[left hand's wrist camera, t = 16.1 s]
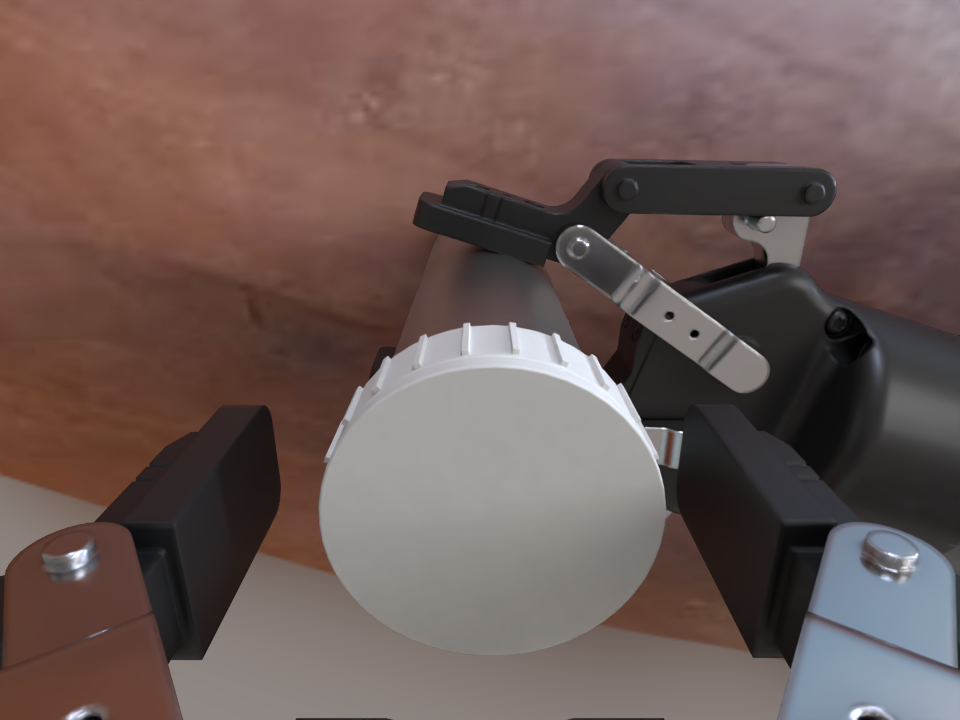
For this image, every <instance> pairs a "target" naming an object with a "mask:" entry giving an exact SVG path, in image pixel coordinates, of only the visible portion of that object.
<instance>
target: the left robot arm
mask: <svg viewBox="0 0 960 720" xmlns="http://www.w3.org/2000/svg"><path fill="white" fill-rule="evenodd" d="M280 492H281V484H280V475H279V467H278V460H277V453H276V446H275V438H274V431H273V424H272V417H271V414H270V411H269V409H268V408H267V407H266V406H265V405H225V406H221V407H220V408H219V409H218V410H217V411H216V413H215V414H214V415H213V416H212V417H211V418H210V419H209V420H208V422H207V423H206V424H205V425H204V426H203V427H202V428H201V429H200V431H199V432H190V433H189V434H187V435H185V436H183V437H182V438H180V439H178V440H176V441H175V442H173V443H171V444H169V445H168V446H166V447H165V448H164V449H163V450H162V451H161V452H160V453H159V454H158V455H157V456H156V457H155V458H154V460H153V461H152V462H151V463H150V466H149V467H146V468H145V469H144V470H143V471H142V472H141V473H140V474H139V475H138V476H137V477H136V482H132V483H131V484H130V485H129V486H128V487H127V488H126V489H125V490H124V491H123V492H122V493H121V494H120V495H119V496H118V498H117V499H116V500H115V501H114V502H113V503H112V504H111V505H110V506H109V507H108V508H107V509H106V510H105V511H104V512H103V513H102V514H101V515H100V517H99V518H98V519H97V520H96V521H95V522H93V523H86V524H80V525H76V526H72V527H68V528H65V529H62V530H59V531H56V532H54V533H52V534H49V535H47V536H45V537H43V538H41V539H39V540H37V541H36V542H34V543H32V544H31V545H29V546H28V547H26V548H25V549H24V550H22V551H21V552H20V553H19V554H18V555H17V556H16V557H15V558H14V559H13V560H12V561H11V562H10V564H9V565H8V567H7V569H6V572H5V575H4V576H0V720H183V718H182V714H181V710H180V706H179V703H178V699H177V696H176V692H175V688H174V685H173V681H172V677H171V674H170V670H169V666H168V664H169V662H170V660H202V659H203V657H204V655H205V653H206V651H207V649H208V647H209V645H210V643H211V642H212V640H213V638H214V636H215V634H216V632H217V630H218V628H219V626H220V624H221V622H222V620H223V618H224V616H225V614H226V612H227V610H228V608H229V606H230V604H231V602H232V600H233V598H234V596H235V594H236V592H237V591H238V589H239V587H240V585H241V583H242V581H243V579H244V577H245V575H246V573H247V571H248V569H249V567H250V565H251V563H252V561H253V559H254V557H255V555H256V553H257V551H258V549H259V547H260V545H261V543H262V542H263V540H264V538H265V536H266V534H267V532H268V530H269V528H270V526H271V524H272V522H273V520H274V518H275V516H276V514H277V511H278V507H279V502H280ZM676 494H677V502H678V507H679V510H680V513H681V515H682V517H683V519H684V521H685V523H686V525H687V527H688V529H689V531H690V533H691V535H692V537H693V539H694V541H695V543H696V545H697V547H698V549H699V551H700V553H701V555H702V557H703V559H704V561H705V563H706V565H707V567H708V569H709V571H710V573H711V575H712V577H713V579H714V581H715V583H716V585H717V587H718V589H719V591H720V593H721V595H722V597H723V599H724V601H725V603H726V605H727V607H728V609H729V611H730V613H731V615H732V617H733V619H734V621H735V623H736V625H737V627H738V629H739V631H740V633H741V635H742V637H743V639H744V641H745V643H746V645H747V647H748V649H749V651H750V653H751V655H752V657H753V658H785V660H786V662H787V664H788V665H789V667H790V669H791V670H790V674H789V678H788V681H787V685H786V688H785V692H784V696H783V699H782V703H781V707H780V710H779V714H778V718H777V720H960V576H959V575H955V572H954V569H953V567H952V565H951V564H950V562H949V561H948V560H947V559H946V558H945V557H944V556H943V555H942V554H941V553H940V552H939V551H938V550H936V549H935V548H934V547H932V546H931V545H929V544H928V543H926V542H924V541H923V540H921V539H919V538H917V537H915V536H913V535H911V534H908V533H906V532H904V531H901V530H898V529H895V528H892V527H888V526H884V525H880V524H875V523H867V522H861V520H860V519H859V518H858V517H857V516H856V515H855V514H854V513H853V512H852V511H851V510H850V509H849V508H848V507H847V506H846V504H845V503H844V502H843V501H842V500H841V499H840V498H839V497H838V496H837V495H836V494H835V493H834V492H833V491H832V490H831V488H830V487H829V486H828V485H827V484H826V483H825V482H824V481H823V480H820V479H819V476H818V475H817V474H816V472H815V471H814V470H813V469H812V468H811V467H810V466H806V462H805V461H804V460H803V459H802V458H801V457H800V455H799V454H798V453H797V452H796V451H795V450H794V449H793V448H792V447H791V446H790V445H788V444H787V443H785V442H783V441H781V440H780V439H778V438H776V437H774V436H773V435H771V434H769V433H767V432H766V431H757V430H756V428H755V427H754V426H753V425H752V424H751V423H750V422H749V420H748V419H747V418H746V417H745V416H744V415H743V414H742V413H741V411H740V410H739V409H738V408H737V407H736V406H735V405H690V406H689V408H688V409H687V412H686V415H685V421H684V428H683V435H682V443H681V450H680V458H679V465H678V472H677V480H676ZM296 720H391V719H387V718H296ZM569 720H664V718H573V719H569Z"/></svg>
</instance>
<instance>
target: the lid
mask: <svg viewBox="0 0 960 720" xmlns="http://www.w3.org/2000/svg"><path fill="white" fill-rule="evenodd" d="M658 459H659V457H658V454H657V452H656V450H655V448H654V446H653V444H652V442H651V440H650V438H649V436H648V434H647V432H646V431H645V429H644V427H643V425H642V423H641V419H640V417H639V415H638V413H637V411H636V409H635V407H634V405H633V404H632V402H631V400H630V398H629V396H628V394H627V392H626V390H625V388H624V387H623V385H622V384H621V383H620V384H618V385H616V384H615V383H614V382H613V380H612V379H611V378H610V377H609V376H608V374H607V373H606V372H605V371H604V370H603V369H602V368H601V366H600V364H599V362H598V360H597V358H596V357H595V356H594V355H593V354H591V355H590V356H589V357H588V356H587V355H585V354H584V353H582V352H581V351H579V350H578V349H576V348H575V347H573V346H571V345H569V344H567V343H565V342H563V341H561V339H560V336H559V335H558V334H555V333H553V334H552V336H549V335H546V334H543V333H540V332H537V331H533V330H528V329H523V328H518V327H516V323H512V322H509V326H498V325H486V326H470V323H464V324H463V328H459V329H453V330H449V331H446V332H443V333H440V334H436V335H433V336H430V337H427V335H426V334H425V335H422V336H420V338H419V342H417V343H415V344H413V345H411V346H410V347H408V348H406V349H405V350H403V351H402V352H400V353H398V354H397V355H395V356H394V357H393V358H392V359H390V358H389V357H388V356H387V357H386V358H384V359H383V361H382V364H381V367H380V369H379V370H378V371H377V372H376V373H375V374H374V375H373V377H372V378H371V379H370V380H369V381H368V382H367V384H366V385H365V387H364V388H362V387H360V386H359V387H358V388H357V389H356V391H355V394H354V396H353V398H352V400H351V402H350V405H349V407H348V409H347V411H346V414H345V416H344V418H343V420H342V421H341V423H340V425H339V428H338V430H337V432H336V434H335V436H334V439H333V441H332V443H331V445H330V447H329V450H328V452H327V454H326V456H325V460H324V463H328V464H327V466H326V470H325V473H324V476H323V480H322V483H321V489H320V496H319V503H318V507H319V526H320V532H321V538H322V542H323V545H324V548H325V551H326V554H327V557H328V560H329V562H330V564H331V566H332V568H333V570H334V572H335V574H336V576H337V578H338V579H339V580H340V582H341V583H342V585H343V586H344V588H345V589H346V590H347V592H348V593H349V594H350V595H351V596H352V597H353V599H354V600H355V601H356V602H357V603H358V604H359V605H360V606H361V607H362V608H363V609H364V610H366V611H367V612H368V613H369V614H370V615H371V616H373V617H374V618H375V619H376V620H378V621H379V622H381V623H382V624H384V625H385V626H387V627H388V628H390V629H391V630H393V631H395V632H397V633H399V634H401V635H403V636H405V637H407V638H409V639H411V640H414V641H416V642H419V643H421V644H424V645H427V646H430V647H433V648H437V649H441V650H445V651H448V652H454V653H461V654H467V655H481V656H500V655H514V654H521V653H528V652H533V651H537V650H541V649H545V648H549V647H552V646H555V645H558V644H561V643H563V642H566V641H569V640H571V639H573V638H575V637H577V636H579V635H581V634H584V633H586V632H587V631H589V630H591V629H592V628H594V627H595V626H597V625H599V624H600V623H602V622H604V621H605V620H606V619H607V618H609V617H610V616H611V615H612V614H614V613H615V612H616V611H617V610H619V609H620V608H621V607H622V606H623V605H624V604H625V603H626V602H627V600H628V599H629V598H630V597H631V596H632V595H633V594H634V593H635V591H636V590H637V589H638V587H639V586H640V585H641V584H642V582H643V581H644V579H645V578H646V576H647V574H648V572H649V571H650V569H651V567H652V565H653V563H654V561H655V558H656V556H657V553H658V550H659V548H660V545H661V541H662V536H663V532H664V527H665V515H666V502H665V490H664V485H663V481H662V477H661V473H660V469H659V467H658V464H657V462H656V460H658Z"/></svg>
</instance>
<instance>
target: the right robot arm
mask: <svg viewBox="0 0 960 720" xmlns="http://www.w3.org/2000/svg"><path fill="white" fill-rule="evenodd" d="M836 188H837V187H836V182H835V179H834V177H833V176H832V175H831V174H830V173H829V172H827V171H826V170H823V169H817V168H811V167H805V166H799V165H792V164H786V163H780V162H750V161H700V160H649V159H606V160H603V161H601V162H599V163H598V164H596V165H595V166H594V168H593V169H592V171H591V173H590V176H589V179H588V180H587V181H586V183H585V184H584V185H583V186H582V188H581V189H580V190H579V191H578V193H577V194H576V195H575V196H574V197H573V198H572V199H571V200H570V201H569V202H567V203H565V204H563V205H559V206H547V205H543V204H540V203H537V202H534V201H531V200H528V199H525V198H522V197H519V196H516V195H512V194H509V193H506V192H503V191H500V190H497V189H494V188H491V187H488V186H485V185H482V184H479V183H476V182H473V181H470V180H457V181H448V183H447V185H446V188H445V192H444V195H443V196H441V195H438V194H434V193H430V192H423V193H422V195H421V196H420V197H419V200H418V204H417V208H416V211H415V215H414V219H413V222H412V223H413V224H414V225H416V226H418V227H420V228H422V229H425V230H427V231H431V232H434V233H437V234H440V235H443V236H446V237H450V238H453V239H456V240H459V241H462V242H465V243H468V244H472V245H475V246H478V247H481V248H484V249H487V250H491V251H494V252H497V253H500V254H503V255H508V256H511V257H514V258H517V259H519V260H522V261H525V262H528V263H532V264H535V265H538V266H541V267H544V264H545V261H546V258H547V259H550V260H553V261H556V262H559V263H561V264H562V265H563V266H564V267H566V268H567V269H569V270H570V271H571V272H573V273H574V274H576V275H577V276H579V277H580V278H581V279H583V280H584V281H586V282H587V283H588V284H590V285H591V286H593V287H594V288H595V289H597V290H598V291H600V292H601V293H602V294H604V295H605V296H607V297H608V298H609V299H611V300H612V301H613V302H614V303H616V304H617V305H618V306H619V307H620V308H621V309H622V310H623V311H625V312H626V314H625V316H624V319H623V321H622V323H621V327H620V335H619V342H618V348H617V351H616V352H615V353H614V355H613V356H612V357H611V358H610V360H609V361H608V362H607V364H606V365H605V366H604V368H603V370H604V371H605V372H606V373H607V374H608V376H609V377H610V378H611V379H612V380H613V382H614V383H615V384H616V385H618V384H620V383H621V384H622V385H623V387H624V388H625V390H626V392H627V394H628V396H629V398H630V400H631V402H632V404H633V405H634V407H635V409H636V411H637V413H638V415H639V417H640V419H641V423H642V425H643V427H644V429H645V431H646V432H647V434H648V436H649V438H650V440H651V442H652V444H653V446H654V448H655V450H656V452H657V454H658V457H659V459H658V460H656V462H657V464H658V467H659V469H660V473H661V477H662V481H663V485H664V490H665V502H666V515H665V519H666V518H667V517H668V516H669V515H670V514H671V513H672V512H673V513H677V514H681V513H680V510H679V507H678V502H677V494H676V480H677V472H678V465H679V458H680V450H681V443H682V435H683V428H684V421H685V415H686V412H687V409H688V408H689V406H690V405H735V406H736V407H737V408H738V409H739V410H740V411H741V413H742V414H743V415H744V416H745V417H746V418H747V419H748V420H749V422H750V423H751V424H752V425H753V426H754V427H755V428H756V430H757V431H766V432H767V433H769V434H771V435H773V436H774V437H776V438H778V439H780V440H781V441H783V442H785V443H787V444H788V445H790V446H791V447H792V448H793V449H794V450H795V451H796V452H797V453H798V454H799V455H800V457H801V458H802V459H803V460H804V461H805V462H806V466H810V467H811V468H812V469H813V470H814V471H815V472H816V474H817V475H818V476H819V479H820V480H823V481H824V482H825V483H826V484H827V485H828V486H829V487H830V488H831V490H832V491H833V492H834V493H835V494H836V495H837V496H838V497H839V498H840V499H841V500H842V501H843V502H844V503H845V504H846V506H847V507H848V508H849V509H850V510H851V511H852V512H853V513H854V514H855V515H856V516H857V517H858V518H859V519H860V520H861V522H867V523H875V524H880V525H884V526H888V527H892V528H895V529H898V530H901V531H904V532H906V533H908V534H911V535H913V536H915V537H917V538H919V539H921V540H923V541H924V542H926V543H928V544H929V545H931V546H932V547H934V548H935V549H936V550H938V551H939V552H940V553H941V554H942V555H943V556H944V557H945V558H946V559H947V560H948V561H949V562H950V564H951V565H952V567H953V569H954V572H955V575H959V576H960V335H958V336H957V335H954V334H951V333H948V332H945V331H942V330H939V329H936V328H933V327H930V326H926V325H923V324H920V323H917V322H914V321H911V320H908V319H905V318H902V317H899V316H896V315H893V314H890V313H887V312H884V311H881V310H878V309H875V308H872V307H869V306H865V305H862V304H859V303H856V302H853V301H850V300H847V299H844V298H841V297H838V296H835V295H832V294H829V293H826V292H824V291H823V290H822V289H821V288H820V287H819V286H818V284H817V283H816V282H815V280H814V279H813V277H812V276H811V275H810V274H809V273H808V272H807V271H805V270H804V269H802V268H800V267H799V266H800V261H801V256H802V251H803V247H804V242H805V237H806V233H807V228H808V223H809V218H810V217H812V216H816V215H819V214H821V213H822V212H824V211H825V210H826V209H827V208H828V207H829V206H830V205H831V204H832V202H833V200H834V198H835V195H836ZM629 214H679V215H722V223H723V226H724V228H725V229H726V230H727V231H728V232H729V233H731V234H733V235H735V236H737V237H739V238H741V239H743V240H746V241H750V242H751V243H752V245H753V247H754V252H755V256H754V257H753V258H750V259H747V260H744V261H740V262H737V263H734V264H731V265H728V266H724V267H721V268H718V269H715V270H712V271H708V272H705V273H702V274H699V275H696V276H692V277H689V278H686V279H683V280H680V281H676V282H673V283H671V282H669V281H668V280H667V279H665V278H664V277H663V276H661V275H660V274H659V273H657V272H656V271H654V270H653V269H652V268H650V267H649V266H648V265H646V264H645V263H644V262H642V261H641V260H640V259H638V258H637V257H636V256H634V255H633V254H631V253H630V252H629V251H627V250H626V249H624V248H623V247H621V246H620V245H618V244H617V243H616V242H614V241H613V240H612V239H610V237H611V235H612V234H613V233H614V232H615V231H616V229H617V228H618V227H619V226H620V225H621V224H622V222H623V221H624V220H625V219H626V218H627V216H628V215H629ZM395 351H396V348H393V347H382V348H380V349H379V352H378V354H377V356H376V358H375V361H374V363H373V366H372V370H371V374H370V377H369V380H370V379H371V378H372V377H373V375H374V374H375V373H376V372H377V371H378V370H379V369H380V367H381V364H382V361H383V359H384V358H386V357H387V356H388V357H389V358H390V359H392V358H393V357H394V354H395Z"/></svg>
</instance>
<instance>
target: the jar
mask: <svg viewBox="0 0 960 720" xmlns="http://www.w3.org/2000/svg"><path fill="white" fill-rule="evenodd" d="M509 322H512V323H516V327H518V328H523V329H528V330H533V331H537V332H540V333H543V334H546V335H549V336H552V334H553V333H555V334H558V335H559V336H560V339H561V341H563V342H565V343H567V344H569V345H571V346H573V347H575V348H576V349H578V350H579V351H581V350H580V348H579V346H578V343H577V341H576V339H575V336H574V334H573V331H572V329H571V327H570V324H569V322H568V320H567V317H566V315H565V313H564V310H563V308H562V306H561V303H560V301H559V299H558V296H557V294H556V292H555V289H554V287H553V285H552V282H551V280H550V277H549V275H548V273H547V270H546V268H545V266H544V267H541V266H538V265H535V264H532V263H528V262H525V261H522V260H519V259H517V258H514V257H511V256H508V255H503V254H500V253H497V252H494V251H491V250H487V249H484V248H481V247H478V246H475V245H472V244H468V243H465V242H462V241H459V240H456V239H453V238H450V237H446V236H443V235H440V234H439V235H438V236H437V238H436V240H435V242H434V245H433V247H432V250H431V253H430V256H429V258H428V261H427V264H426V267H425V270H424V273H423V275H422V278H421V281H420V284H419V287H418V289H417V292H416V295H415V298H414V301H413V303H412V306H411V309H410V312H409V315H408V317H407V320H406V323H405V326H404V329H403V331H402V334H401V337H400V340H399V343H398V345H397V348H396V351H395V354H394V356H395V355H397V354H398V353H400V352H402V351H403V350H405V349H406V348H408V347H410V346H411V345H413V344H415V343H417V342H419V338H420V336H422V335H425V334H426V335H427V337H430V336H433V335H436V334H440V333H443V332H446V331H449V330H453V329H459V328H463V324H464V323H470V326H486V325H498V326H509Z"/></svg>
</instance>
